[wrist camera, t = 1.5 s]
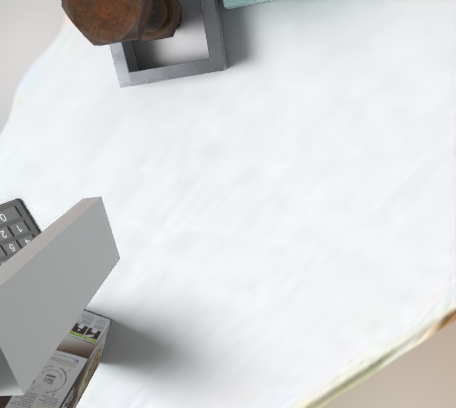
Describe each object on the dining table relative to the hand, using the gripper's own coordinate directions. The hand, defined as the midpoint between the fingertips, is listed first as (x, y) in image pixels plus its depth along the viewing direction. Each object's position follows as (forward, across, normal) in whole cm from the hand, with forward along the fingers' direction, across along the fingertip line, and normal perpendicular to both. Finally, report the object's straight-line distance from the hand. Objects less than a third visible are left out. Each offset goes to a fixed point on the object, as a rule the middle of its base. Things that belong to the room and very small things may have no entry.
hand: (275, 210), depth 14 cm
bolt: (+27, -9, +10) cm, 30 cm away
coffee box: (+28, -30, -28) cm, 50 cm away
